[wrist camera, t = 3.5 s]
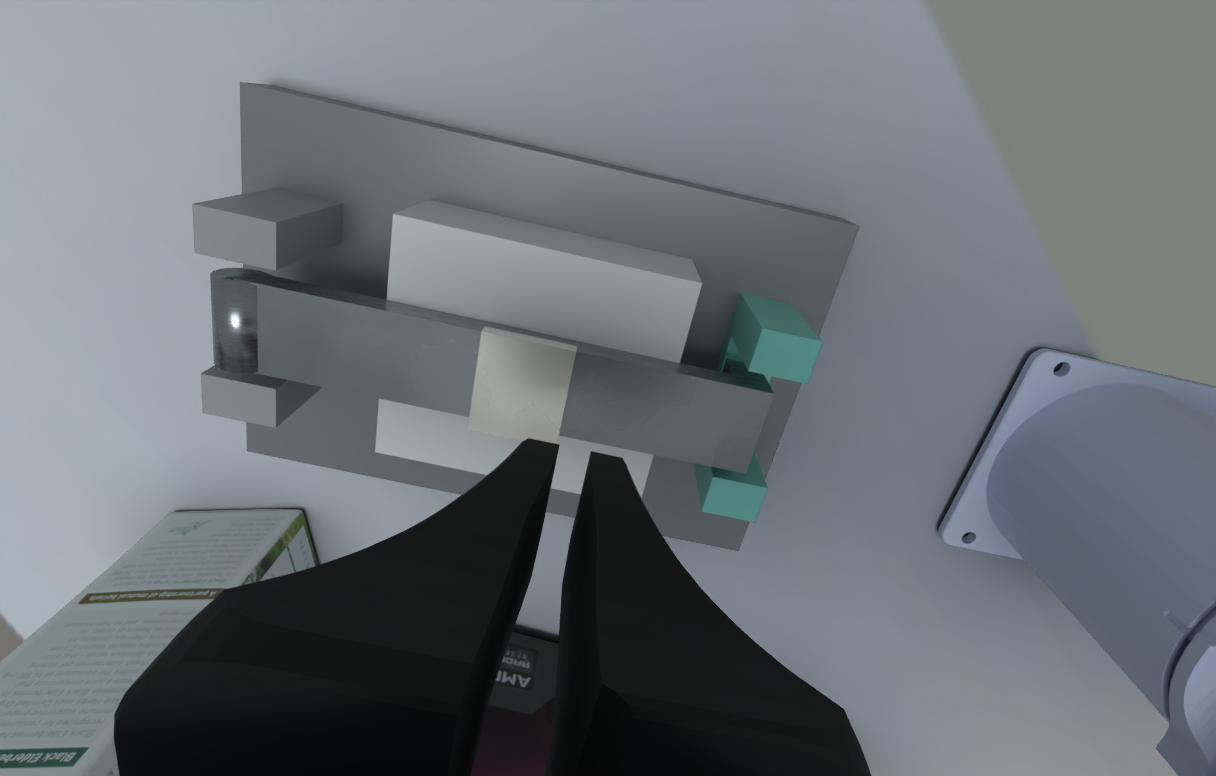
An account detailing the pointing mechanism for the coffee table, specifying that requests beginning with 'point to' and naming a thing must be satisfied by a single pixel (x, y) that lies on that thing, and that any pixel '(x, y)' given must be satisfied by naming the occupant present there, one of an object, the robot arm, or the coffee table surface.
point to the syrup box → (130, 632)
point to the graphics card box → (519, 711)
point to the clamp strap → (486, 371)
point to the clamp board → (545, 194)
